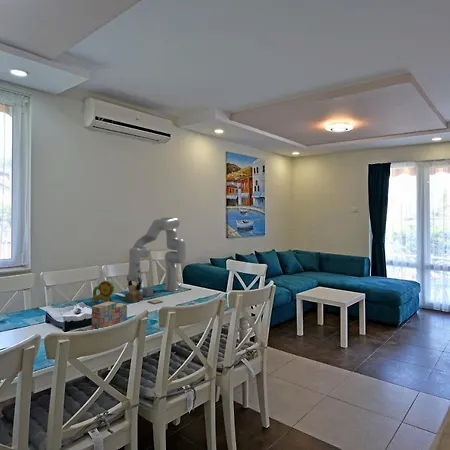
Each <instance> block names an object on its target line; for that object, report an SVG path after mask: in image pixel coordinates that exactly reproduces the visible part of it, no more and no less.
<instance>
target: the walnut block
mask: <svg viewBox="0 0 450 450" xmlns="http://www.w3.org/2000/svg"><path fill="white" fill-rule="evenodd" d="M124 295H125V297H124V298H125V299H124V300H125V301H127V302H130V303H136V302H137V303H138V302H141V301H144V296H143V292H140V293H139V294H134V295H133V294H130V293H129V292H125V294H124Z"/></svg>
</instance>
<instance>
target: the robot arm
mask: <svg viewBox="0 0 450 450" xmlns="http://www.w3.org/2000/svg"><path fill="white" fill-rule="evenodd" d="M180 222H181V221H180V220H179V218H177V217H166V216H165V217H161V218H159V219H157V218H156V219H154V220H153V221H152V224H151V225H150V226H149V228H148V230H147V232H146V233H145V234H144V235H142V236H141V237H140V238H138V239H137V240H136V241H135V242H134V245H133V246H132V247H131V248H129V250H128V251H129V257H128V258H129V259H128V264H129V265H128V267H129V268H128V275H126V278H127V279H126V280H127V283H128V284H127V286H128V287H127V288H128V289H129V286H130V285H133V282H135V283H136V285H137V287H136V290H140V291H141V288H142V286H141V285H142V283H143V280H144V279H143V278H142V269H141V268H142V267H141V258H142V259H143V258H145V259H146V258H148V257H149V256H150V255H151V249H150V248H148V247H145V245H147V244H150V243H152V242H155V241H156V240H157V238H158V237H159V236H160V232H161V231H165V235H166V248H167V249H168V250H170V251H166V253H165V254H164V261H165V287H164V288H163V291H166V292H175V291H176V292H178V291H180V287H181V286H182V285H183V284H182V283H178V277H179V276H178V272H179V271H178V270H179V269H178V264H179V265H181V264H184V263H185V261H186V256H187V255H186V254H187V253H186V252H187V251H186V241H185V240H184V239H182V238H178V232H177V229H178V227H179V226H180Z"/></svg>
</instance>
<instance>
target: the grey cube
mask: <svg viewBox="0 0 450 450" xmlns="http://www.w3.org/2000/svg"><path fill="white" fill-rule="evenodd" d="M142 293H143V297H152V296H154V288H153V287H150V286H148V287H142Z"/></svg>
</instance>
